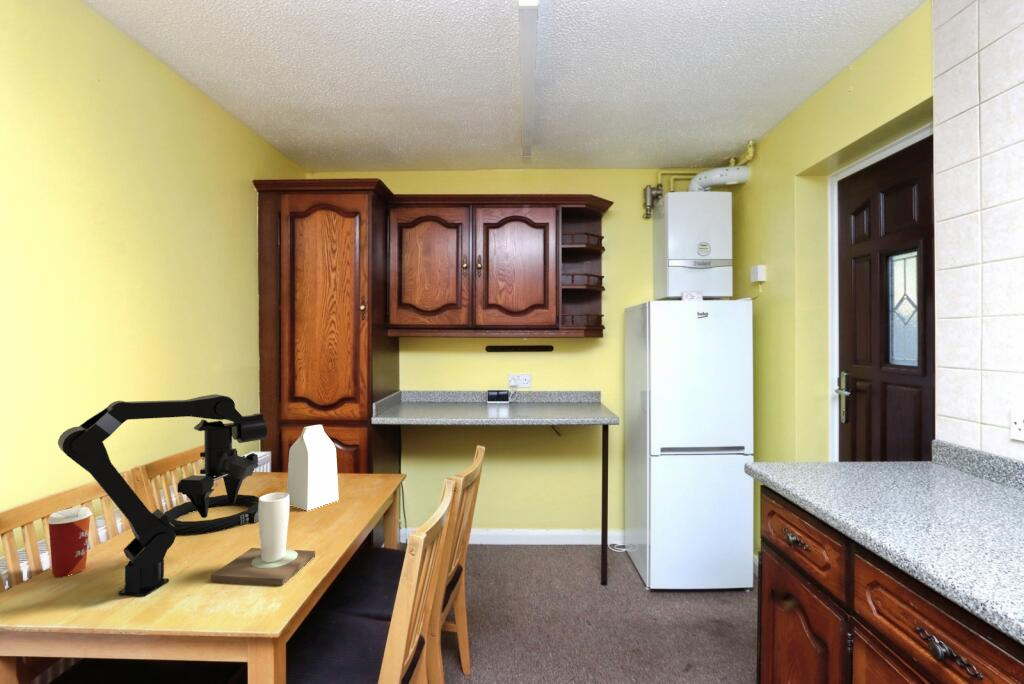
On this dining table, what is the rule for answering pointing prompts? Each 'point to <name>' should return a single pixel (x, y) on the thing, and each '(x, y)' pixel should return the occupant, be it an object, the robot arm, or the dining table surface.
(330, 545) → the dining table surface
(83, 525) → the paper cup
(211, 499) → the cable lock
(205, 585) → the dining table surface
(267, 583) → the walnut board
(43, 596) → the dining table surface
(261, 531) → the drinking glass
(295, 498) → the milk
